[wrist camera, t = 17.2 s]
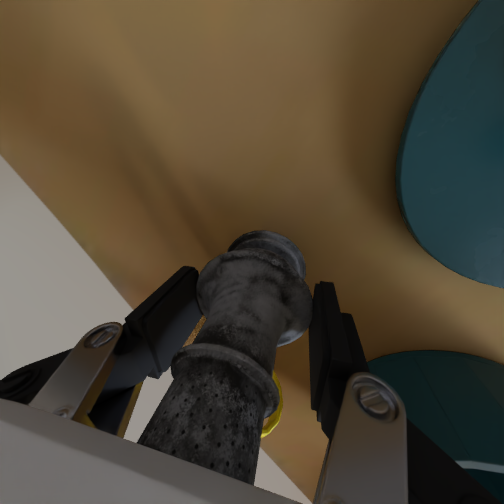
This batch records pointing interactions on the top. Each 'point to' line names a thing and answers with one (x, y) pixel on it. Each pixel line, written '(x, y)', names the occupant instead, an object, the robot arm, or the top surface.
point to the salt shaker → (233, 356)
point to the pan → (454, 407)
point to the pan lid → (459, 151)
